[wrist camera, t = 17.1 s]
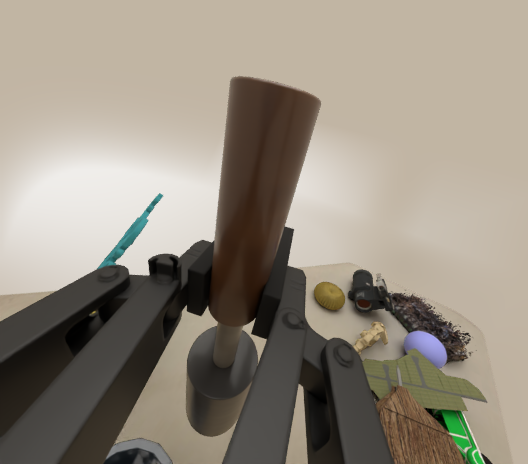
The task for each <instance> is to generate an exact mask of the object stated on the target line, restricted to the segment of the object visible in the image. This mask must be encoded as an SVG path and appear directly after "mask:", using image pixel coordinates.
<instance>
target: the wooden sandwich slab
mask: <svg viewBox="0 0 528 464" xmlns="http://www.w3.org/2000/svg"><path fill="white" fill-rule="evenodd" d="M396 373H397V380H398V385H397V387H395V386H392V389H391V392H390V393H388V394H387V395H386V396H385V397H383V398H382V399H381V400H379V401H378V402H377V403H376V407H377V410H378V414H379V417H380V420H381V423H382V426H383V429H384V432H385V435H386V439H387V442H388V445H389V448H390V451H391V454H392V457H393V460H394V464H466V463H465V461H464V459H463V457H462V455H461V453H460V451H459V449H458V447H457V445H456V443H455V441H454V439H453V437H452V436H451V435H450V434H449V433H448V432H447V431H446V430H445V429H444V428H443V427H442V426H441V425H440V424H439V423H438V421H437V420H436V419H434V418H433V417H432V416H431V415H430V414H429V413H428V412H427V411H426V410H425V409H424V408H423V407H422V406H421V405H420V404H419V403H418V402H417V401H416V400H415V399H414V398H413V397H412V396H411V394H410V392H409V390H408V389H407V388H404V387H403V386H402V380H401V374H400V370H399V367H398V365H397V369H396Z"/></svg>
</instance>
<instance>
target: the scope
mask: <svg viewBox="0 0 528 464" xmlns="http://www.w3.org/2000/svg"><path fill="white" fill-rule="evenodd" d="M376 281H377V282H376V284H377V286H373V277H372V275H371V274H370V272H368V271H366V270H358V271H356V272H354V275H353V287H352V291H349V293H348V296H349V298H350V299H354V300H355V307H356V309H357V310H359V311H360V312H364V313H368V312H370V311H372V310H378V309H384V308H385V309H386V311H393V310H394V305H393V303H392V301H391V297H390V294H388V292H387V287H386V284H385V281H384V279H382V278H381V274H380V273H379V274H377V280H376Z"/></svg>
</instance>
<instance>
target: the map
mask: <svg viewBox="0 0 528 464" xmlns="http://www.w3.org/2000/svg"><path fill="white" fill-rule="evenodd" d="M407 353H408V355H405V356H403V357H402V358H400V359H397V360H384V361H383V362H382V361H377V360H370V359H365V361H363V362H362V363H363V367H364V370H365V373H366V376H367V379H368V382H369V385H370V388H371V390H373V391H374V392H375V394H376V395H377V396H378V398H379V399H380V400H381V399H382V398H383V397H385V396H386V395H387V394H388V393H390V392H391V389H392V386H395V387H397V385H398V380H397V373H396V369H397V365H398V367H399V370H400V374H401V380H402V386H403V387H404V388H407V389H408V390H409V392H410V394H411V396H412V397H413V398H414V399H415V400H416V401H417V402H418V403H419V404H420V405H421V406H422V407H423V408H432V409H446V410H461V411H467V408H466V406H465V404H464V402H463V400H462V398H461V397H464V398H469V399H473V400H478V401H482V402H486V403H488V402H487V401H486V399H485V397H484V396H483V395H482V393H481V392H480V391H479V389H477V388H476V387H475V386H474V385H472V384H471V383H470V382H469V381H467V380H465V379H461V378H456V377H451V376H446V375H445V374H444V373H442V372H441V371H440V370H439V369H438V368H437V367H436V366H434V365H433V364H432V363H431V362H430V361H429V360H428V359H427V358H426V357H425V356H424V355H422V354H421V353H420V352H419V351H418V350H417V349H416V348H414V349H411V350H409V351H407Z"/></svg>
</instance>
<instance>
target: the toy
mask: <svg viewBox="0 0 528 464" xmlns="http://www.w3.org/2000/svg"><path fill="white" fill-rule="evenodd" d="M371 326H374V327H372V328H371V329H370V330H369V331H368V332H367V331H366V330H364V331H363V332H362V333H361V334H360V335H361V336H362V338H360V339H357V341H356V344H355V346H353V347H354V348H355V350H356V351H357V352H358V354H359V355H360V354H361V350H363V349H365V348H366V347H367V346H370V347H371V346H372V345H373V344H374V343H375V342H376V341H377V340H378V339H379V337H381V339H382V341H383V343H384V345H386V344H387V343H388V337H387V331H386V328H385V326H384V325H383V324H382V323H381V322H373V323H372V324H371Z"/></svg>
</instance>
